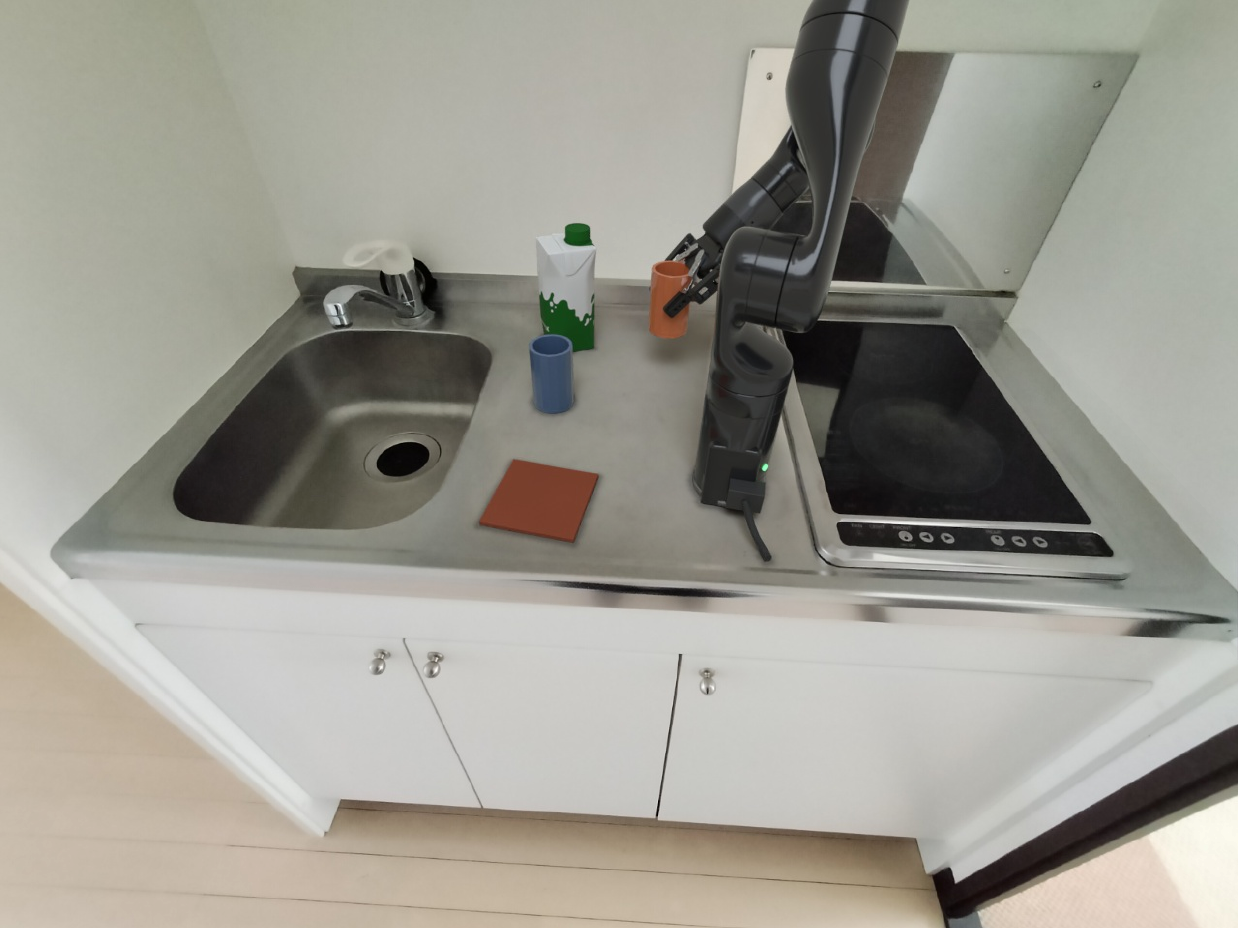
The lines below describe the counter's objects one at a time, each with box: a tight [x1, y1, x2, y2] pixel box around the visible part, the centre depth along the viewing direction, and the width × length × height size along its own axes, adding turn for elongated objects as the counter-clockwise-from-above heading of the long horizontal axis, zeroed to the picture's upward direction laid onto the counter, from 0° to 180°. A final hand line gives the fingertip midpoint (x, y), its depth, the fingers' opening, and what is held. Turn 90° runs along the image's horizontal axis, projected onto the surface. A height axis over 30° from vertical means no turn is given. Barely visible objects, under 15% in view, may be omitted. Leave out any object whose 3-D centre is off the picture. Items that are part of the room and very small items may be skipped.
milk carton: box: [535, 222, 597, 353], centre depth 100 cm, size 9×9×20 cm
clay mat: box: [478, 458, 599, 544], centre depth 77 cm, size 12×12×1 cm
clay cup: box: [647, 260, 693, 340], centre depth 93 cm, size 6×6×10 cm
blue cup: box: [528, 334, 575, 414], centre depth 90 cm, size 6×6×10 cm
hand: (659, 303), depth 93 cm, fingers closed on clay cup, 6 cm apart
